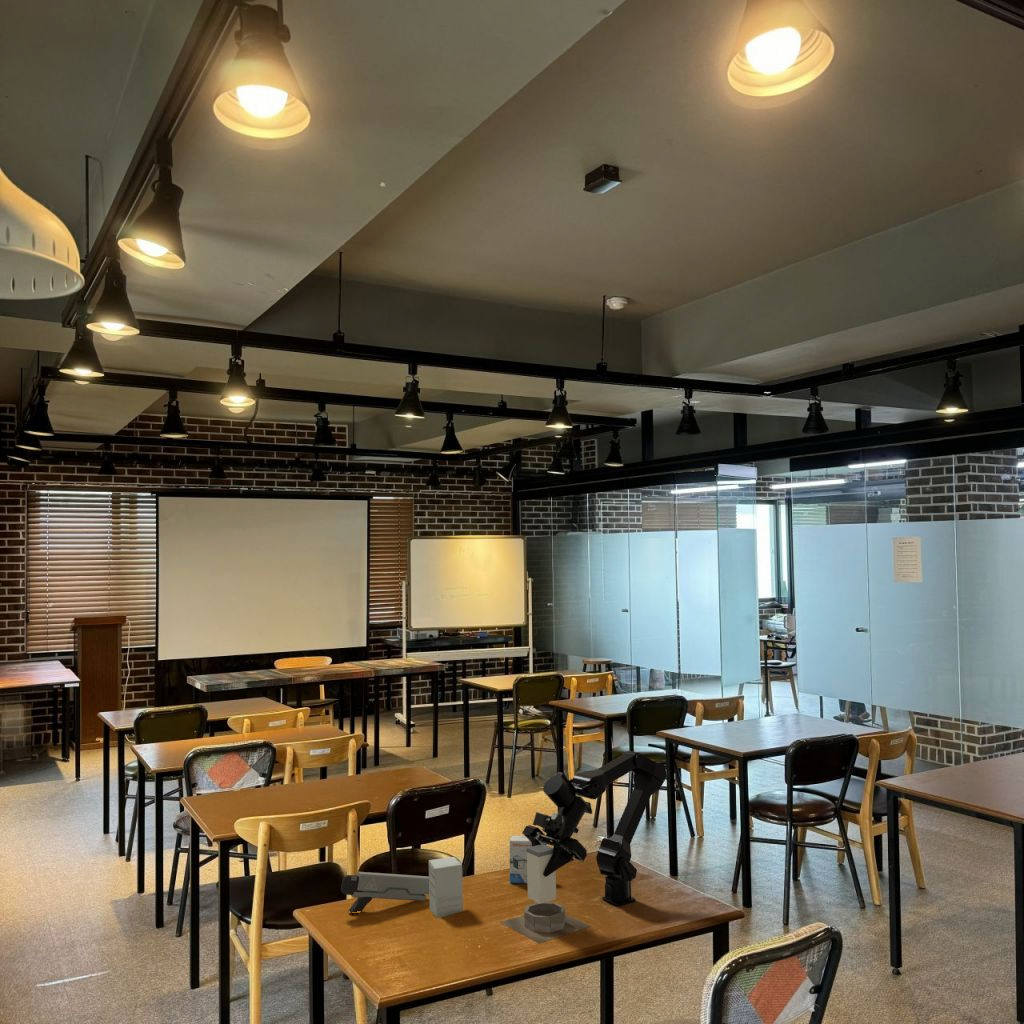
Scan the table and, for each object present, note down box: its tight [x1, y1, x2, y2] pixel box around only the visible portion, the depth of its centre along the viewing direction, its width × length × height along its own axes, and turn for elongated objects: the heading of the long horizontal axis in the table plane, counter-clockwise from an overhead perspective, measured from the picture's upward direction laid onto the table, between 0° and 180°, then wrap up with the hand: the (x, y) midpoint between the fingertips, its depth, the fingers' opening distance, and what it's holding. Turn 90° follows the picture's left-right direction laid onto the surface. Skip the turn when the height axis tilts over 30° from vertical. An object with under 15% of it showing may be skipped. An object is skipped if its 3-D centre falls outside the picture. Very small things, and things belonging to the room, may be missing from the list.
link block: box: [526, 844, 557, 904], centre depth 217 cm, size 5×5×12 cm
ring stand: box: [499, 901, 592, 944], centre depth 215 cm, size 16×16×5 cm
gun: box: [340, 871, 429, 913], centre depth 232 cm, size 2×25×10 cm, turn 117°
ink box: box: [509, 835, 532, 884], centre depth 250 cm, size 9×5×12 cm, turn 84°
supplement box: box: [428, 856, 464, 919], centre depth 228 cm, size 7×7×13 cm
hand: (536, 872), depth 216 cm, fingers closed on link block, 5 cm apart
